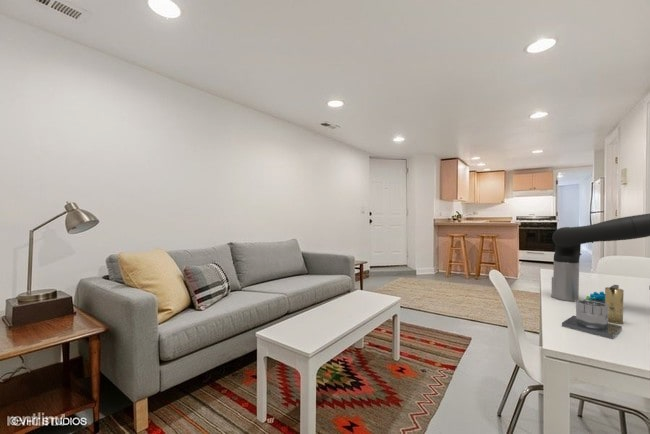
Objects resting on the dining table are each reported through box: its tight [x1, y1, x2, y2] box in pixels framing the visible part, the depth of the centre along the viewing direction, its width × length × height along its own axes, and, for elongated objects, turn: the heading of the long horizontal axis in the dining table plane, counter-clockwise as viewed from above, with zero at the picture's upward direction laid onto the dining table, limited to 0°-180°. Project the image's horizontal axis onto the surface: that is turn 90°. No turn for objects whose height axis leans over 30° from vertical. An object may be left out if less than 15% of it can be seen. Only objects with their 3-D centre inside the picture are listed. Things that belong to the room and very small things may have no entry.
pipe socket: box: [561, 299, 623, 340], centre depth 102 cm, size 13×13×8 cm
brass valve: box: [604, 284, 625, 325], centre depth 108 cm, size 5×7×13 cm
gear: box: [585, 291, 605, 304], centre depth 123 cm, size 11×6×10 cm
